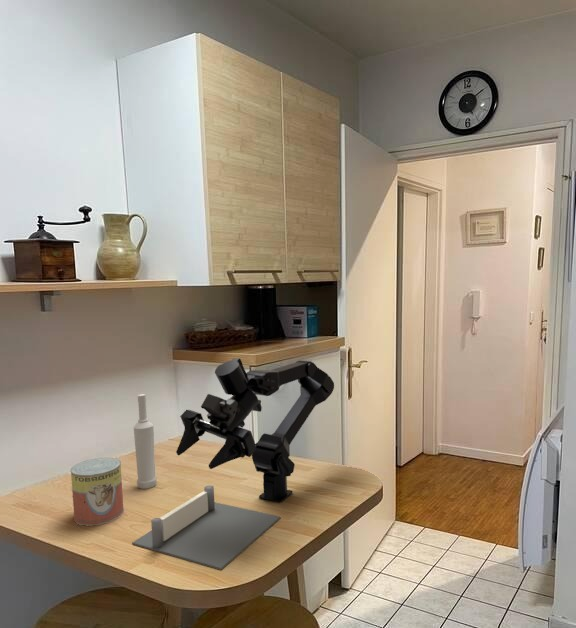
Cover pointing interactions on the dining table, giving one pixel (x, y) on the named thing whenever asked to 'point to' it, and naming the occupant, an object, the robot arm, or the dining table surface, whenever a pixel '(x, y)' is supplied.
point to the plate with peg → (211, 535)
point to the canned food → (97, 491)
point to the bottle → (144, 447)
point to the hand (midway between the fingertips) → (193, 460)
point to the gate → (187, 512)
